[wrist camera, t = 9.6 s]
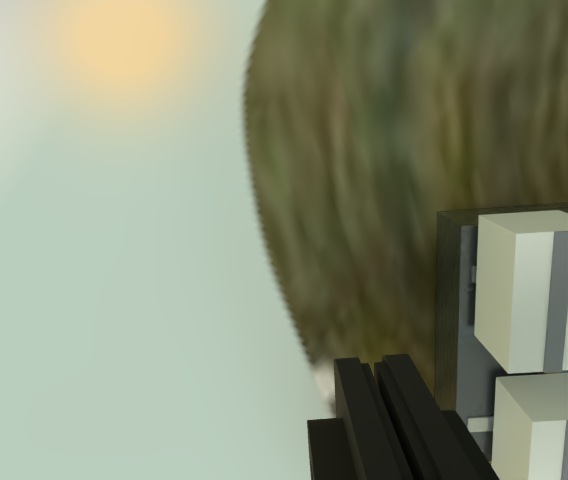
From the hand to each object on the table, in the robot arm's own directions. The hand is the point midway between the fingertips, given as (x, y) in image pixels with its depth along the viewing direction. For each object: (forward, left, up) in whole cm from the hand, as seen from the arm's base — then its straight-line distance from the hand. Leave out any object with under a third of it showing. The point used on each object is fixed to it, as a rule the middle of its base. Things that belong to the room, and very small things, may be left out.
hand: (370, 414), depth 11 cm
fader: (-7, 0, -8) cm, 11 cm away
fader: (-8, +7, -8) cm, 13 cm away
